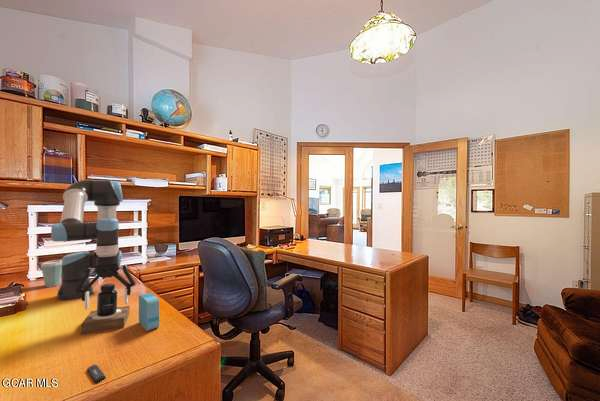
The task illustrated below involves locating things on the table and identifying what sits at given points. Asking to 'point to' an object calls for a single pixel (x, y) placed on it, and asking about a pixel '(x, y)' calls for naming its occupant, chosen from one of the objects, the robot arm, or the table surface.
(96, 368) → the usb stick
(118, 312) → the base
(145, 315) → the light-blue rounded block
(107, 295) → the supplement bottle
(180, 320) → the table surface
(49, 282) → the disposable coffee cup
